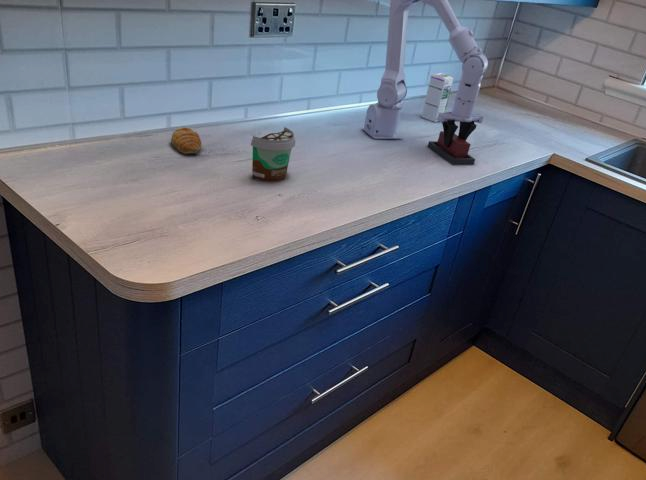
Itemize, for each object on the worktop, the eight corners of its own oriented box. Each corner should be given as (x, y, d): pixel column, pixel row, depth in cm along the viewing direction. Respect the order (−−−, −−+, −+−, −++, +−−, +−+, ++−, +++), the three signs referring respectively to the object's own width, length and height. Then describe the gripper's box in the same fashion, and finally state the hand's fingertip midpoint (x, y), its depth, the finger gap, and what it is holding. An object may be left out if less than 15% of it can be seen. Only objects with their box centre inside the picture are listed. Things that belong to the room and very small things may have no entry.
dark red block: (455, 157, 169) (459, 144, 167) (436, 144, 176) (440, 131, 174) (466, 157, 171) (470, 144, 168) (447, 144, 178) (451, 131, 176)
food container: (269, 188, 132) (273, 145, 127) (247, 179, 135) (251, 136, 129) (301, 175, 142) (307, 134, 136) (281, 166, 144) (285, 126, 138)
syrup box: (435, 122, 200) (446, 78, 192) (420, 117, 202) (431, 73, 194) (443, 120, 204) (454, 77, 196) (428, 114, 206) (439, 71, 198)
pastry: (206, 156, 141) (206, 140, 139) (177, 156, 138) (177, 140, 136) (196, 141, 148) (197, 126, 146) (169, 141, 145) (168, 126, 143)
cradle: (452, 164, 167) (454, 159, 167) (427, 146, 177) (428, 141, 176) (473, 164, 171) (475, 159, 170) (448, 146, 181) (449, 141, 180)
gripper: (452, 102, 159) (439, 151, 166) (494, 104, 166) (480, 151, 173) (438, 94, 164) (426, 141, 171) (480, 96, 171) (466, 142, 178)
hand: (452, 146), depth 172 cm, fingers closed on dark red block, 4 cm apart
